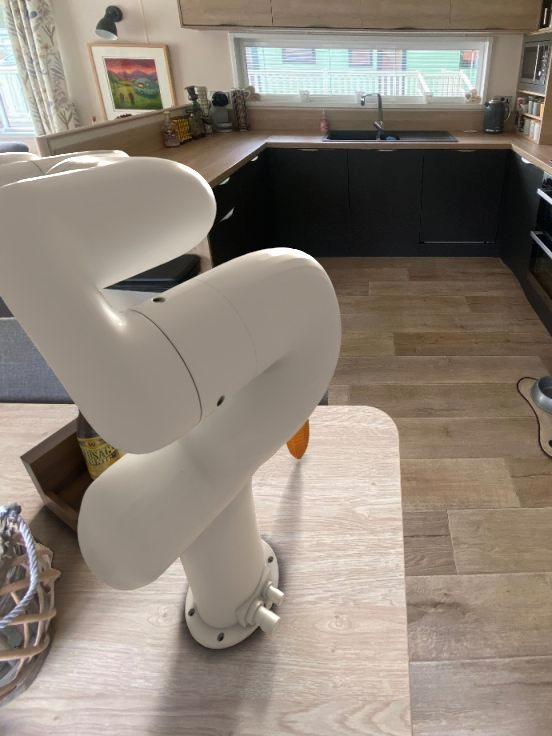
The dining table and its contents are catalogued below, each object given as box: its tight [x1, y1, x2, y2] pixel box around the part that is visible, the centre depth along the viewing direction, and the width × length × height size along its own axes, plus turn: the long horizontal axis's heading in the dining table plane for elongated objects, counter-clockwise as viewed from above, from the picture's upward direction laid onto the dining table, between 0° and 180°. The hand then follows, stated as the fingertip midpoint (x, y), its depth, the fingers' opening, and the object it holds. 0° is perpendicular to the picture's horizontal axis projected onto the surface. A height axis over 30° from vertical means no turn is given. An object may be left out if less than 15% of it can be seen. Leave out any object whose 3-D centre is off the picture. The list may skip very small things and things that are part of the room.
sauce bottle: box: [76, 408, 127, 481], centre depth 65 cm, size 6×6×20 cm
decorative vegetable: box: [285, 418, 310, 460], centre depth 72 cm, size 5×5×15 cm
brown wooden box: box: [19, 417, 94, 534], centre depth 69 cm, size 12×16×12 cm
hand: (75, 348), depth 59 cm, fingers open, 9 cm apart
